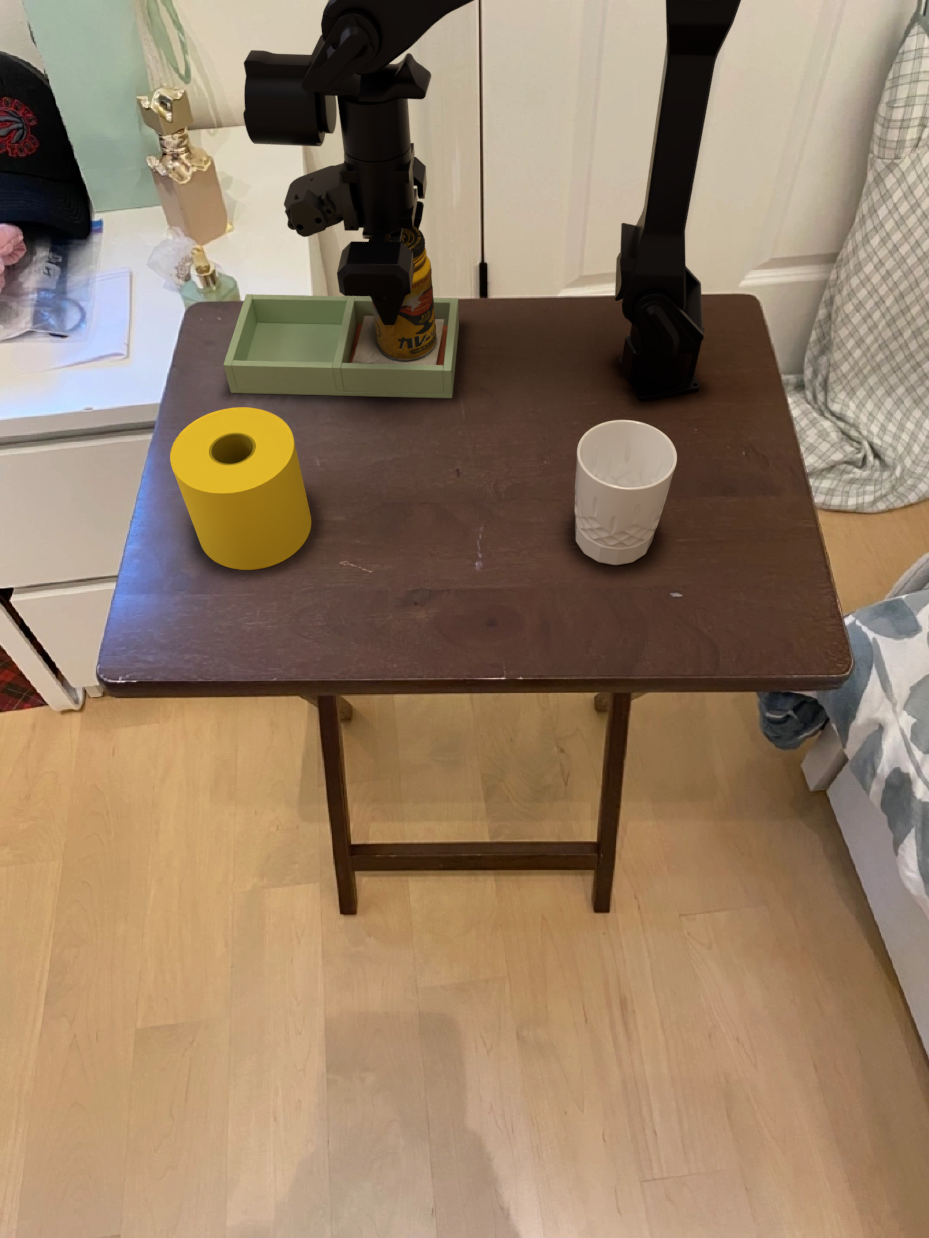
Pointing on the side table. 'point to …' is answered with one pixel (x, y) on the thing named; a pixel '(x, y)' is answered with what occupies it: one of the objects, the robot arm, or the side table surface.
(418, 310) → the condiment
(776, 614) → the side table surface
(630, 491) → the white cup
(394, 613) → the side table surface
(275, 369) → the holder
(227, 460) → the yellow toilet paper roll
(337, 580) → the side table surface
